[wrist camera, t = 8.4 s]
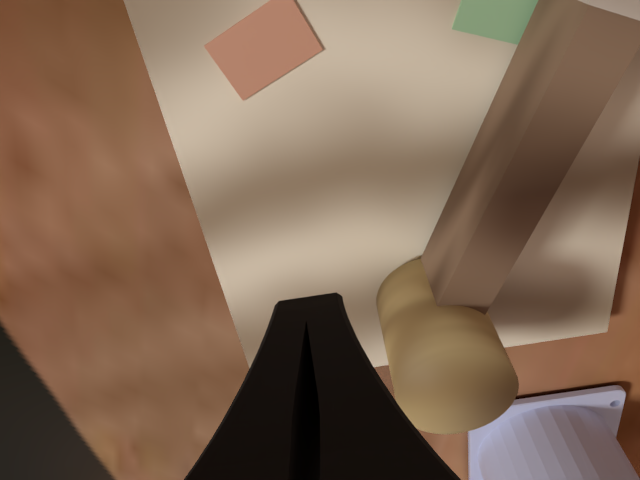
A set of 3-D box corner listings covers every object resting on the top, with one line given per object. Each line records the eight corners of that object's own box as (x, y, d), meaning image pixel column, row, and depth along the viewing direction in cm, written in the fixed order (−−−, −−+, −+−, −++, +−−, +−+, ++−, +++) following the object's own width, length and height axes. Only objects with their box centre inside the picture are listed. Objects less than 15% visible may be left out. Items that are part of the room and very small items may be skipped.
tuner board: (594, 313, 25) (607, 332, 24) (256, 365, 26) (255, 384, 25) (672, -165, 15) (699, -169, 14) (117, -57, 16) (105, -53, 15)
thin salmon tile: (286, -12, 16) (286, -11, 15) (322, 49, 17) (322, 49, 16) (204, 45, 16) (203, 46, 16) (243, 99, 17) (242, 100, 17)
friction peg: (451, 340, 23) (486, 440, 19) (363, 325, 22) (380, 425, 18) (659, -38, 15) (796, -7, 11) (533, -80, 15) (631, -65, 10)
